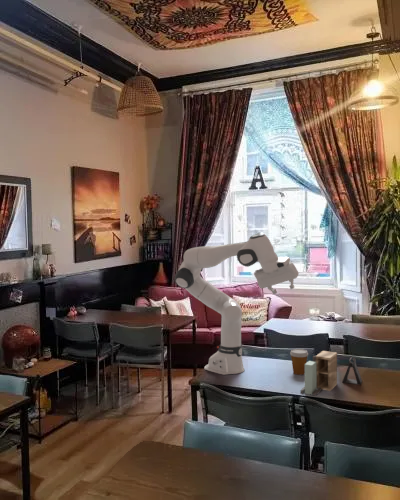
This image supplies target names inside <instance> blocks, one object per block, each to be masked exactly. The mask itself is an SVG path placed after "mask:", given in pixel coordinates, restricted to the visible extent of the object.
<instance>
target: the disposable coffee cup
mask: <svg viewBox="0 0 400 500" xmlns="http://www.w3.org/2000/svg"><path fill="white" fill-rule="evenodd" d="M289 354H290V358H291V364H292V373H293V374H294V375H297V376H299V375H300V376H302V375H303V376H304V375H305V364H306V363H307V362H308V361H307V360H308V356H309V353H308V350H307V349H302V348H295V349H291V350H290V353H289Z"/></svg>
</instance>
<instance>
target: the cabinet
mask: <svg viewBox="0 0 400 500" xmlns="http://www.w3.org/2000/svg"><path fill="white" fill-rule="evenodd" d="M312 361H314V362H316V374H317V389H316V390H315V391H314V392H313V394H312V396H314V397H316V396H317V395H318V394H319V393H320V392H321V391H322V390H323V391H327V392H331V391H332V390H333V389H334V388H335V387H336V386H337V385H338V353H337V352H335V351H327V350H322V351H320V352H319V353H317V355H312ZM300 394H305V386H304V387H302V388H301V389H300Z"/></svg>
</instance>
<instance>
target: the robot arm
mask: <svg viewBox="0 0 400 500" xmlns="http://www.w3.org/2000/svg"><path fill="white" fill-rule="evenodd" d="M232 257H236V259H237V262H239V264H240V265H242V266H243V267H246V268H249V267H251V266H253V265H255V264H256V263H259V265H260V267H261V268H259V269H256V270H255V271H254V273H253V275H254V277H255V279H256V281H257V284H258V287H259V288H260V289H265V288H267V289H268V290H269V291H270V292H271V293H272V295H276V294H277V293H278V292H277V289H275V288H273V287H272V286H276V285H279V284H282V283H285V282H289V283H290V284H289V288H290V290H292V289H295V285H294V279H297V278H298V276H299V270H298V268H297V267H296V266H295V264H294V263H293V262H292V261H291V259H290V258H291V257H288V256H278V255H277V253H276V252H275V250H274V246H273V244H272V242H271V240H270V238H269V237H268V236H267V234H265V233H263V232H258V233H255V234H253V235H252V234H251V236H250V237H249V239H248V240H247V241H243V242H236V243H228V244H221V245H220V244H219V245H218V244H217V245H206V246H196V247H192V248H188V249H187V250H185V252H184V253H183V257H182V258H183V261H182V262H181V264H180V265H179V267H178V269H177V271H176V273H175V275H174V282H175V284H176V286H178V287H179V288H182V289H185V290H186V291H187V292H188V293H189V294H190V295H191V296H192V297H194V298H195V299H196V300H198V301H200V302H201V303H202V304H204V305H205V306H206V307H208V308H210V309H212V310H213V311H215V312H217V314H220V315H221V316H220V317H221V323H220V326H221V328H220V344H219V345H217V346H216V349H218V350H217V351H216V352H215V353H213V354H212V355H210V357H209V358H208V364H206V365H205V366H204V370H205V371H208V372H212V373H215V374H219V375H223V376H224V375H232V374H233V375H235V374H240V373H243V372H244V371H245V367H244V365H243V364H244V363H243V362H244V361H243V356H242V355H243V345H242V320H243V309H242V307H241V306H240V305H239V303H238V301H237V300H235V299H234V298H232V297H230V295H228V294H227V293H225V292H223V291H221V290H220V289H219V288H217V287H216V286H214V285H213V284H211V283H210V282H209V281H208V280H206V279H205V278H203V277H202V276H201V272H203V269H208V268H209V269H210V268H213V267H217V266H218V265H220V264H221V263H222V262H224V261H225V260H227V259H229V258H232Z"/></svg>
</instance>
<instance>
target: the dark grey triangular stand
mask: <svg viewBox="0 0 400 500" xmlns="http://www.w3.org/2000/svg"><path fill="white" fill-rule="evenodd" d="M351 368H352V369H353V372H354V376H355V379H351V378H349V373H350V370H351ZM362 382H363V379H362V376H361V374H360V371H359V368H358V366H357V361H356V357H352V356H351V357H350V358H349V360H348V367H347V369H346V371H345V373H344V376H343V379H342V383H343V384H350V385H359V386H362Z"/></svg>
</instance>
